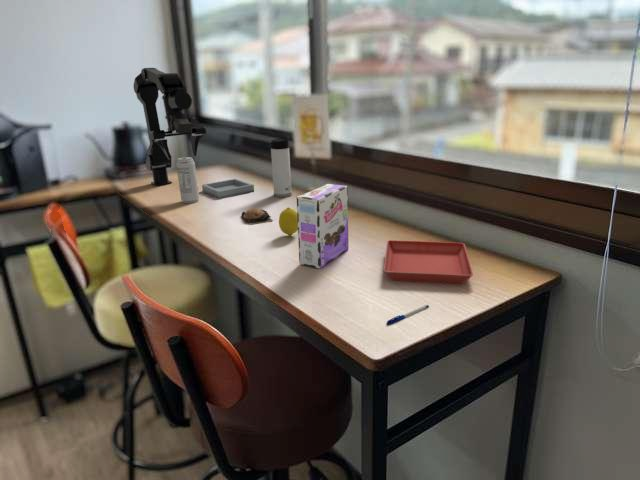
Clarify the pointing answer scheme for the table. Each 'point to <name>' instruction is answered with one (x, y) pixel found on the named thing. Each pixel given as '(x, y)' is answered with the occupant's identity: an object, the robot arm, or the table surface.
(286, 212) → the lemon
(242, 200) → the table surface
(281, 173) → the travel mug
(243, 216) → the abalone
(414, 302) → the table surface
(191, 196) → the energy drink can
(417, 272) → the plant saucer
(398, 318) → the ballpoint pen
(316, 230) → the candy box
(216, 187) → the tray
